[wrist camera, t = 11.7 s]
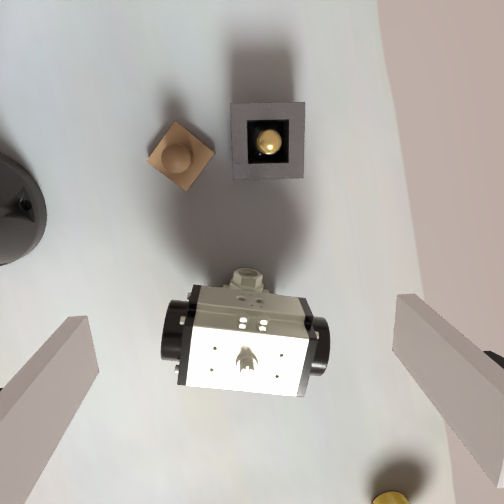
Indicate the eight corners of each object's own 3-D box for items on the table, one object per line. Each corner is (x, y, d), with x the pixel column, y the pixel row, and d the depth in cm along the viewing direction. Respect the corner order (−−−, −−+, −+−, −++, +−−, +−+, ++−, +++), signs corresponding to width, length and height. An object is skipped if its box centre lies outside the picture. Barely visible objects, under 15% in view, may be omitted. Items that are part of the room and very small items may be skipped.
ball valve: (309, 273, 51) (347, 339, 34) (298, 325, 53) (328, 411, 36) (184, 256, 49) (158, 318, 32) (179, 311, 52) (151, 394, 35)
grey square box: (233, 175, 45) (233, 179, 40) (230, 107, 42) (230, 103, 37) (296, 173, 45) (303, 178, 40) (297, 106, 42) (305, 101, 38)
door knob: (228, 145, 45) (227, 146, 36) (260, 103, 44) (266, 94, 35) (267, 177, 46) (274, 185, 38) (299, 137, 45) (313, 137, 37)
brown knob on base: (149, 160, 45) (138, 163, 40) (176, 121, 44) (168, 119, 38) (187, 189, 46) (181, 196, 41) (215, 153, 45) (212, 154, 40)
